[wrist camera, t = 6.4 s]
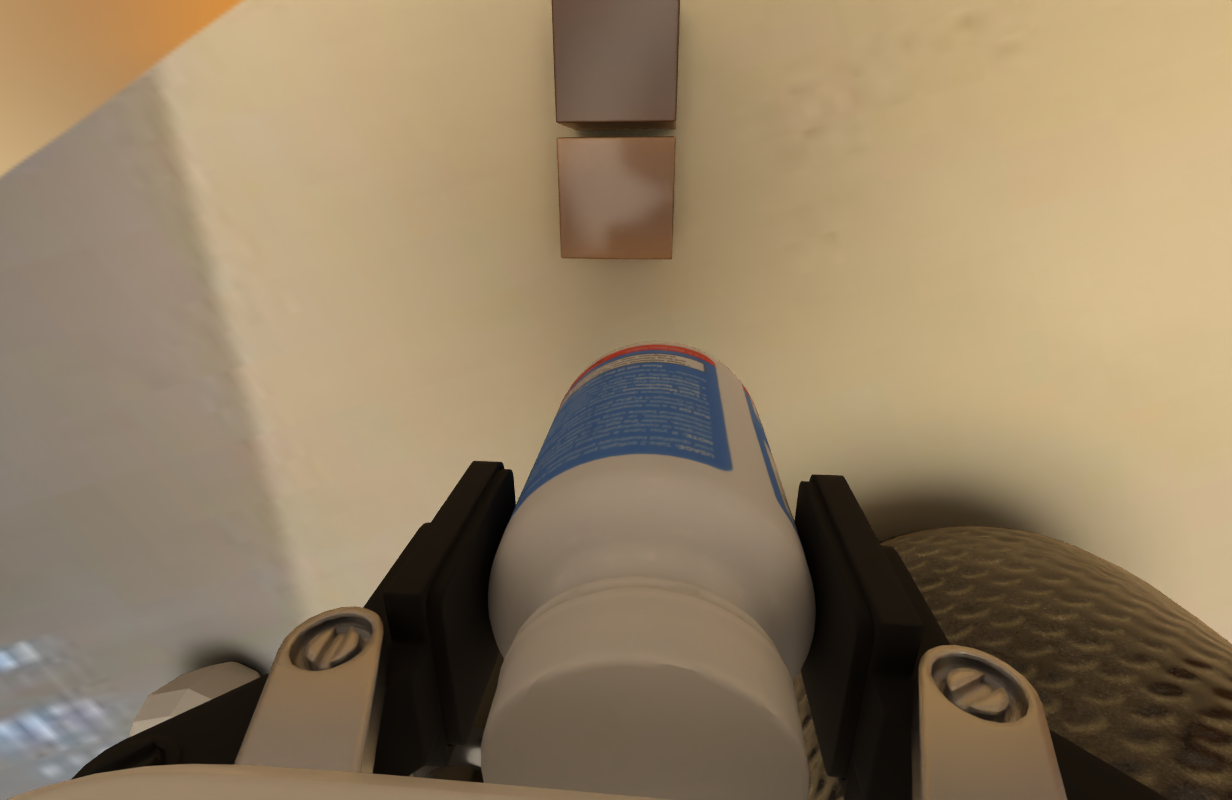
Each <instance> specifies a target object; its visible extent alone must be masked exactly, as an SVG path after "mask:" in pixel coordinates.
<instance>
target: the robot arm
mask: <svg viewBox="0 0 1232 800" xmlns="http://www.w3.org/2000/svg"><path fill="white" fill-rule="evenodd" d="M515 506H516V502H515V490H514V477H513V472H512V470H510V469H504V465H503V463H502V462H487V461H473V462H472V463H471V465H470V466H469V468H468V469H467V471H466V472H465V473H464V475H463V476H462V478H461V479H460V481H459V482H458V484H457V485H456V487H455V488H454V490H453V491H452V492H451V494H450V495H449V497H448V498H447V500H446V501H445V503H444V504H443V506H442V507H441V508H440V510H439V511H438V513H437V514H436V516H435V517H434V519H433V520H432V522H431V523H425V524H423V525H422V526H421V527H420V528H419V529H418V531H417V532H416V534H415V535H414V537H413V538H412V539H411V541H410V542H409V544H408V545H407V546H406V548H405V549H404V551H403V552H402V554H401V555H400V556H399V558H398V559H397V561H396V562H395V563H394V565H393V566H392V568H391V569H390V571H389V572H388V573H387V575H386V576H385V578H384V579H383V580H382V582H381V583H380V585H379V586H378V588H377V589H376V590H375V592H374V593H373V595H372V596H371V597H370V599H369V600H368V602H367V603H366V604H365V606H364V607H363V608H361V607H341V608H337V609H333V610H329V611H325V612H323V613H321V614H318V615H316V616H314V617H311V618H309V619H308V620H306V621H305V622H303V623H302V624H300V625H299V626H297V627H296V628H295V629H294V630H293V631H292V632H291V633H290V634H289V635H288V636H287V637H286V638H285V639H284V641H283V643H282V644H281V646H280V648H279V649H278V652H277V654H276V657H275V659H274V662H273V665H272V667H271V670H270V672H269V673H268V674H266V675H264V676H261V677H259V678H257V679H255V680H253V681H251V682H248V683H246V684H244V685H242V686H240V687H238V688H235V689H233V690H231V691H229V692H227V693H225V694H222V695H220V696H218V697H216V698H214V699H212V700H209V701H207V702H205V703H203V704H201V705H198V706H196V707H194V708H192V709H190V710H188V711H185V712H183V713H181V714H179V715H177V716H175V717H172V718H170V719H168V720H166V721H164V722H162V723H159V724H157V725H155V726H153V727H151V728H149V729H146V730H144V731H142V732H140V733H138V734H136V735H133V736H131V737H129V738H127V739H125V740H123V741H121V742H119V743H118V744H116V745H114V746H112V747H110V748H109V749H107V750H105V751H104V752H102V753H101V754H100V755H98V756H97V757H96V758H94V759H93V760H92V761H90V762H89V763H88V764H86V765H85V766H84V767H83V768H82V769H81V770H80V771H79V772H78V773H77V774H76V775H75V776H74V777H73V778H72V779H71V780H68V781H64V782H60V783H56V784H52V785H49V786H45V787H41V788H38V789H35V790H32V791H29V792H26V793H23V794H21V795H18V796H15V797H12V798H10V799H7V800H670V799H659V798H648V797H637V796H626V795H615V794H604V793H593V792H581V791H570V790H559V789H548V788H537V787H526V786H514V785H502V784H491V783H479V782H467V781H455V780H443V779H431V778H420V777H412V773H414V772H415V771H417V770H419V769H420V768H422V767H423V766H425V765H427V766H439V767H448V764H449V762H450V759H451V757H452V754H453V751H454V749H455V746H456V745H465V743H466V742H467V740H468V738H469V735H470V732H471V729H472V727H473V724H474V721H475V718H476V716H477V713H478V710H479V707H480V705H481V702H482V699H483V696H484V694H485V691H486V688H487V685H488V683H489V680H490V677H491V674H492V671H493V669H494V666H495V663H496V660H497V658H498V655H499V652H500V650H499V648H498V646H497V643H496V640H495V637H494V634H493V631H492V627H491V623H490V619H489V611H488V586H489V579H490V573H491V568H492V564H493V561H494V558H495V554H496V552H497V549H498V547H499V544H500V542H501V539H502V536H503V534H504V531H505V529H506V527H507V525H508V522H509V520H510V518H511V515H512V513H513V511H514V509H515ZM795 525H796V529H797V532H798V535H799V538H800V541H801V544H802V547H803V550H804V553H805V557H806V561H807V565H808V568H809V571H810V575H811V579H812V583H813V588H814V594H815V603H816V620H815V630H814V635H813V639H812V643H811V646H810V650H809V653H808V655H807V658H806V660H805V662H804V664H803V666H802V668H801V674H802V679H803V683H804V687H805V691H806V695H807V699H808V703H809V707H810V711H811V715H812V719H813V723H814V728H815V732H816V736H817V740H818V744H819V748H820V752H821V756H822V760H823V764H824V768H825V771H826V774H827V775H828V776H829V777H838V780H839V783H840V787H841V791H842V795H843V799H844V800H1169V799H1167V798H1166V797H1164V796H1162V795H1161V794H1159V793H1157V792H1156V791H1154V790H1152V789H1150V788H1149V787H1147V786H1145V785H1144V784H1142V783H1140V782H1139V781H1137V780H1135V779H1133V778H1132V777H1130V776H1128V775H1127V774H1125V773H1123V772H1122V771H1120V770H1118V769H1116V768H1115V767H1113V766H1111V765H1110V764H1108V763H1106V762H1105V761H1103V760H1101V759H1099V758H1098V757H1096V756H1094V755H1093V754H1091V753H1089V752H1088V751H1086V750H1084V749H1082V748H1081V747H1079V746H1077V745H1076V744H1074V743H1072V742H1070V741H1069V740H1067V739H1065V738H1064V737H1062V736H1060V735H1059V734H1057V733H1055V732H1053V731H1052V730H1050V729H1049V727H1048V724H1047V720H1046V716H1045V712H1044V708H1043V704H1042V702H1041V700H1040V698H1039V696H1038V694H1037V692H1036V690H1035V689H1034V688H1033V686H1032V685H1031V684H1030V683H1029V682H1028V681H1027V679H1026V678H1025V677H1024V676H1023V675H1021V674H1020V673H1019V672H1018V671H1016V670H1015V669H1014V668H1013V667H1011V666H1010V665H1009V664H1007V663H1005V662H1003V661H1002V660H1000V659H998V658H996V657H994V656H992V655H991V654H988V653H985V652H982V651H979V650H977V649H974V648H970V647H964V646H958V645H950V643H949V641H948V639H947V638H946V636H945V634H944V632H943V631H942V629H941V627H940V625H939V624H938V622H937V620H936V618H935V617H934V615H933V613H932V611H931V610H930V608H929V606H928V604H927V603H926V601H925V599H924V597H923V596H922V594H921V592H920V590H919V589H918V587H917V585H916V583H915V582H914V580H913V578H912V576H911V575H910V573H909V571H908V569H907V568H906V566H905V564H904V562H903V561H902V559H901V557H900V555H899V554H898V552H897V551H896V550H895V548H894V547H892V546H886V545H880V543H879V541H878V539H877V537H876V535H875V533H874V532H873V530H872V528H871V526H870V524H869V522H868V520H867V519H866V517H865V515H864V513H863V511H862V509H861V507H860V506H859V504H858V502H857V500H856V498H855V496H854V494H853V493H852V491H851V489H850V487H849V485H848V483H847V481H846V479H845V478H844V477H843V476H838V475H813V474H812V476H811V477H810V480H809V482H804V481H801V483H800V485H799V491H798V499H797V507H796V515H795Z"/></svg>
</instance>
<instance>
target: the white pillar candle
mask: <svg viewBox="0 0 1232 800" xmlns="http://www.w3.org/2000/svg"><path fill="white" fill-rule="evenodd" d="M259 677H261V676H260V675H259V673H258V672H257V671H255V670H253V669H251V668H249V667H247V666H244V665H242V664H240V663H238V662H226V663H221V664H216V665H211V666H206V667H203V668H200V669H197V670H194V671H191V672H189V673H186V674H183V675H181V676H179V677H177V678H176V679H174V680H173V681H171V682H169V683H168V684H166V685H165V686H163V687H161V688H160V689H158V690H157V691H155V692H153V693H152V694H150V695H149V696H148V698H147V699H146V701H145V703H144V704H143V706H142V708H141V710H140V711H139V713H138V715H137V716H136V718H135V720H134V722H133V725H132V728H131V731H130V735H129V737H131V736H133V735H136V734H138V733H140V732H142V731H144V730H146V729H149V728H151V727H153V726H155V725H157V724H159V723H162V722H164V721H166V720H168V719H170V718H172V717H175V716H177V715H179V714H181V713H183V712H185V711H188V710H190V709H192V708H194V707H196V706H198V705H201V704H203V703H205V702H207V701H209V700H212V699H214V698H216V697H218V696H220V695H222V694H225V693H227V692H229V691H231V690H233V689H235V688H238V687H240V686H242V685H244V684H246V683H248V682H251V681H253V680H255V679H257V678H259Z"/></svg>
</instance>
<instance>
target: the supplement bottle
mask: <svg viewBox="0 0 1232 800" xmlns="http://www.w3.org/2000/svg"><path fill="white" fill-rule="evenodd" d="M503 661H504V658H503V656H502V654H501V652H499V655H498V658H497V660H496V663H495V666H494V669H493V671H492V674H491V677H490V680H489V683H488V685H487V688H486V691H485V694H484V696H483V699H482V702H481V705H480V707H479V710H478V713H477V716H476V718H475V721H474V724H473V727H472V729H471V732H470V735H469V738H468V740H467V742H466V743H465V745H456V746H455V749H454V751H453V754H452V757H451V759H450V762H449V764H448V767H439V766H427V765H425V766H423V767H422V768H420V769H419V770H417V771H415V772H414V773H412V777H420V778H431V779H443V780H455V781H467V782H479V783H484V781H483V775H482V770H481V743H482V738H483V733H484V730H485V726H486V723H487V719H488V716H489V712H490V709H491V706H492V702H493V699H494V695H495V692H496V689H497V686H498V679H499V674H500V670H501V666H502V664H503Z"/></svg>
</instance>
